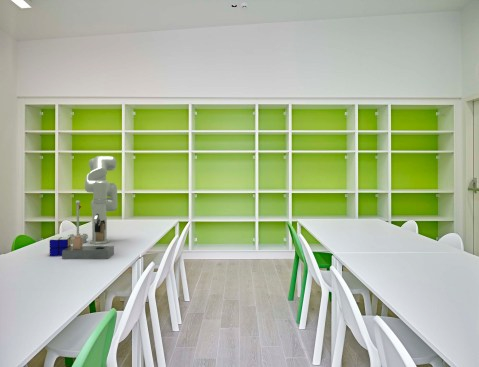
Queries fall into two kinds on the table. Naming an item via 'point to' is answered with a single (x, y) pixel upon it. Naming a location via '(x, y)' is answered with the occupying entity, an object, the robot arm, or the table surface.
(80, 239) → the terracotta plug
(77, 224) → the flag stand
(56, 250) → the puzzle cube
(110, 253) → the block
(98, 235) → the walnut plug
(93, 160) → the robot arm
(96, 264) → the table surface
